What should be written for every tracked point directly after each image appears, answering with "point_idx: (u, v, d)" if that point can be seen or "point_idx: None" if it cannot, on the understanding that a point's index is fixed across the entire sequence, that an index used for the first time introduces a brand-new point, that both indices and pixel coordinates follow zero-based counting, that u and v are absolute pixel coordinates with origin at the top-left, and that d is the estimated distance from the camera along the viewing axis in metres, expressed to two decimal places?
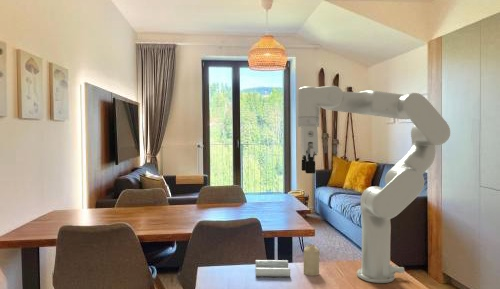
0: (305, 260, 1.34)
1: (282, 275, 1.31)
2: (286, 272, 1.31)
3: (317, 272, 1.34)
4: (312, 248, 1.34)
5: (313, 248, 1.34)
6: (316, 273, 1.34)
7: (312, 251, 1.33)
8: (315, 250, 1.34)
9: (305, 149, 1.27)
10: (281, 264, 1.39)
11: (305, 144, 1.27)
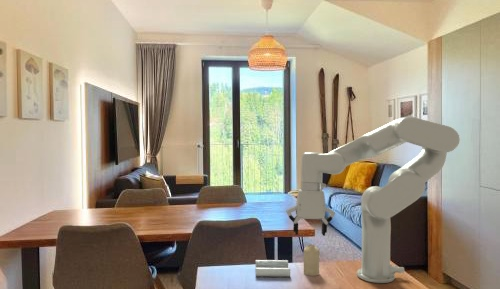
0: (305, 260, 1.34)
1: (282, 275, 1.31)
2: (286, 272, 1.31)
3: (317, 272, 1.34)
4: (312, 248, 1.34)
5: (313, 248, 1.34)
6: (316, 273, 1.34)
7: (312, 251, 1.33)
8: (315, 250, 1.34)
9: None
10: (281, 264, 1.39)
11: (325, 208, 1.34)
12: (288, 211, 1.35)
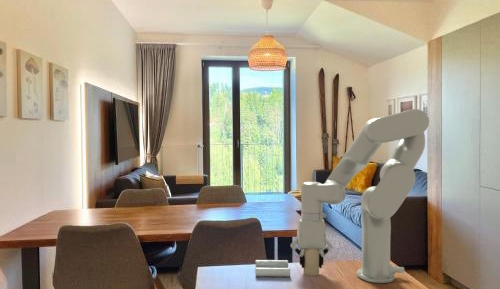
0: (305, 260, 1.34)
1: (282, 275, 1.31)
2: (286, 272, 1.31)
3: (317, 272, 1.34)
4: None
5: None
6: (316, 273, 1.34)
7: (312, 251, 1.33)
8: (315, 250, 1.34)
9: (326, 243, 1.34)
10: (281, 264, 1.39)
11: None
12: (292, 245, 1.35)
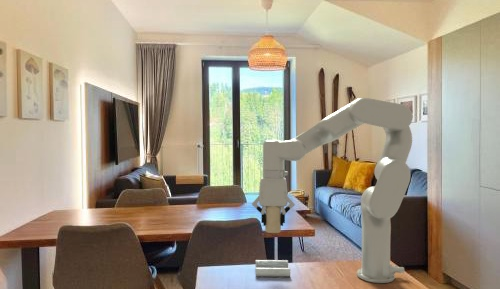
0: (266, 218, 1.34)
1: (282, 275, 1.31)
2: (286, 272, 1.31)
3: (278, 229, 1.34)
4: None
5: None
6: (277, 230, 1.33)
7: (273, 208, 1.33)
8: (276, 207, 1.33)
9: (287, 200, 1.34)
10: (281, 264, 1.39)
11: (287, 196, 1.34)
12: (253, 203, 1.35)
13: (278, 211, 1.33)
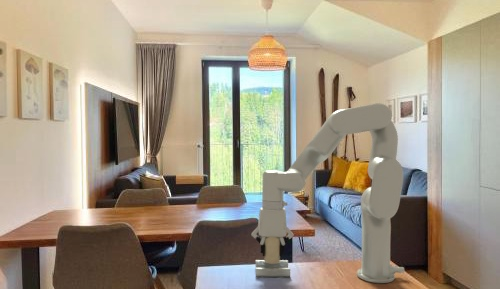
0: (265, 248, 1.35)
1: (282, 275, 1.31)
2: (286, 272, 1.31)
3: (277, 260, 1.34)
4: None
5: None
6: (276, 261, 1.34)
7: (272, 239, 1.33)
8: (275, 238, 1.34)
9: (286, 231, 1.34)
10: (281, 264, 1.39)
11: (286, 226, 1.34)
12: (253, 234, 1.35)
13: (277, 242, 1.34)
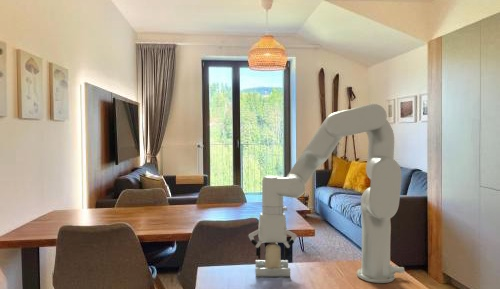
0: (266, 258, 1.35)
1: (282, 275, 1.31)
2: (286, 272, 1.31)
3: None
4: (273, 246, 1.34)
5: (274, 246, 1.34)
6: None
7: (273, 249, 1.33)
8: (276, 248, 1.34)
9: (286, 236, 1.34)
10: (281, 264, 1.39)
11: (286, 232, 1.34)
12: (250, 235, 1.35)
13: (278, 252, 1.34)
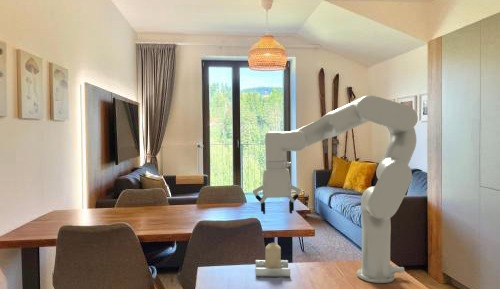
0: (266, 258, 1.35)
1: (282, 275, 1.31)
2: (286, 272, 1.31)
3: None
4: (273, 246, 1.34)
5: (274, 246, 1.34)
6: None
7: (273, 249, 1.33)
8: (276, 248, 1.34)
9: (290, 191, 1.35)
10: (281, 264, 1.39)
11: (290, 186, 1.35)
12: (254, 191, 1.36)
13: (278, 252, 1.34)
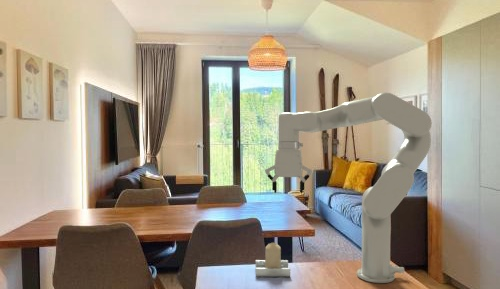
0: (266, 258, 1.35)
1: (282, 275, 1.31)
2: (286, 272, 1.31)
3: None
4: (273, 246, 1.34)
5: (274, 246, 1.34)
6: None
7: (273, 249, 1.33)
8: (276, 248, 1.34)
9: None
10: (281, 264, 1.39)
11: (302, 166, 1.38)
12: (266, 170, 1.40)
13: (278, 252, 1.34)
